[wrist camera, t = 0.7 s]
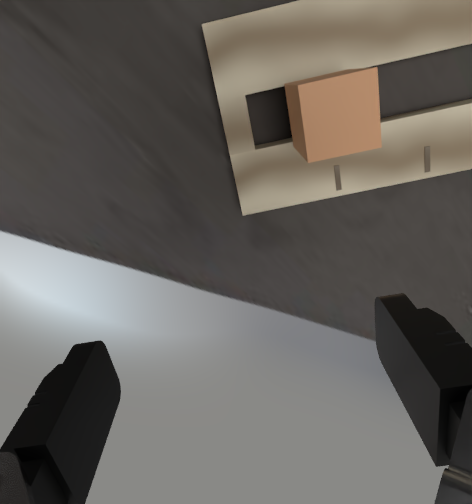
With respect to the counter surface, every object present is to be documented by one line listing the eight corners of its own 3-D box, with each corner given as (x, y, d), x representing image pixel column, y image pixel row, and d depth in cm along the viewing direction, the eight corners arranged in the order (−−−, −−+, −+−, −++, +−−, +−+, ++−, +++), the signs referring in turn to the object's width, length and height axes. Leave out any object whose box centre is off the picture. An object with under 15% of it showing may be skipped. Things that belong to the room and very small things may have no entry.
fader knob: (279, 83, 30) (297, 85, 22) (337, 70, 29) (377, 66, 21) (288, 141, 31) (308, 163, 23) (343, 129, 31) (381, 147, 23)
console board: (203, 27, 28) (201, 23, 26) (639, -79, 26) (671, -91, 24) (242, 208, 34) (242, 216, 32) (602, 133, 32) (627, 137, 30)
